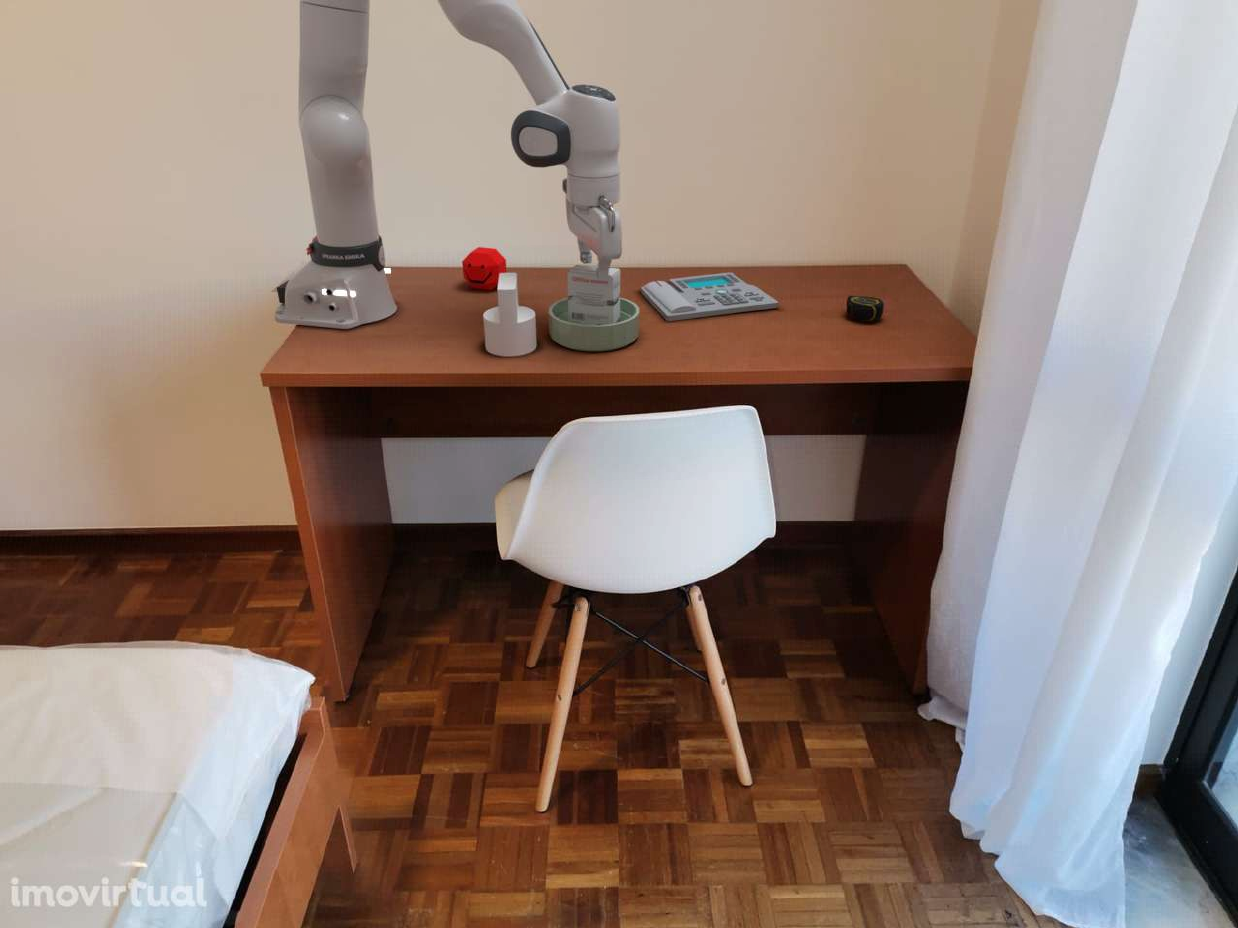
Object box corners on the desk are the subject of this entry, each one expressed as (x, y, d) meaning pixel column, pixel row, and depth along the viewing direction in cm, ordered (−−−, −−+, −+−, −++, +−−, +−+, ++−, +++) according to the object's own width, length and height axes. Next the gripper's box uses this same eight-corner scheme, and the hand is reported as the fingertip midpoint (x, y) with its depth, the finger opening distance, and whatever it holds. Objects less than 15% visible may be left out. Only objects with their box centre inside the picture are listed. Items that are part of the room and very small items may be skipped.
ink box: (620, 330, 165) (621, 267, 159) (613, 339, 161) (613, 275, 155) (576, 325, 167) (575, 262, 161) (567, 334, 163) (566, 271, 157)
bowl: (545, 352, 158) (544, 325, 155) (554, 319, 172) (553, 293, 169) (638, 354, 157) (638, 327, 155) (639, 320, 171) (639, 295, 169)
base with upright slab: (486, 337, 163) (482, 273, 157) (536, 336, 164) (534, 272, 158) (484, 357, 156) (479, 290, 150) (536, 355, 156) (533, 289, 150)
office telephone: (668, 309, 169) (633, 277, 186) (667, 322, 171) (633, 289, 187) (779, 295, 176) (736, 265, 192) (778, 308, 177) (735, 277, 193)
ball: (459, 290, 185) (456, 254, 181) (476, 278, 192) (473, 243, 188) (495, 294, 183) (493, 258, 179) (511, 282, 190) (509, 246, 186)
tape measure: (881, 314, 175) (884, 295, 173) (881, 326, 169) (884, 307, 168) (845, 310, 177) (847, 292, 175) (844, 323, 171) (847, 304, 169)
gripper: (632, 203, 144) (630, 287, 151) (593, 176, 161) (593, 252, 168) (594, 206, 142) (594, 290, 149) (559, 178, 159) (560, 255, 166)
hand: (593, 270), depth 158 cm, fingers open, 8 cm apart
